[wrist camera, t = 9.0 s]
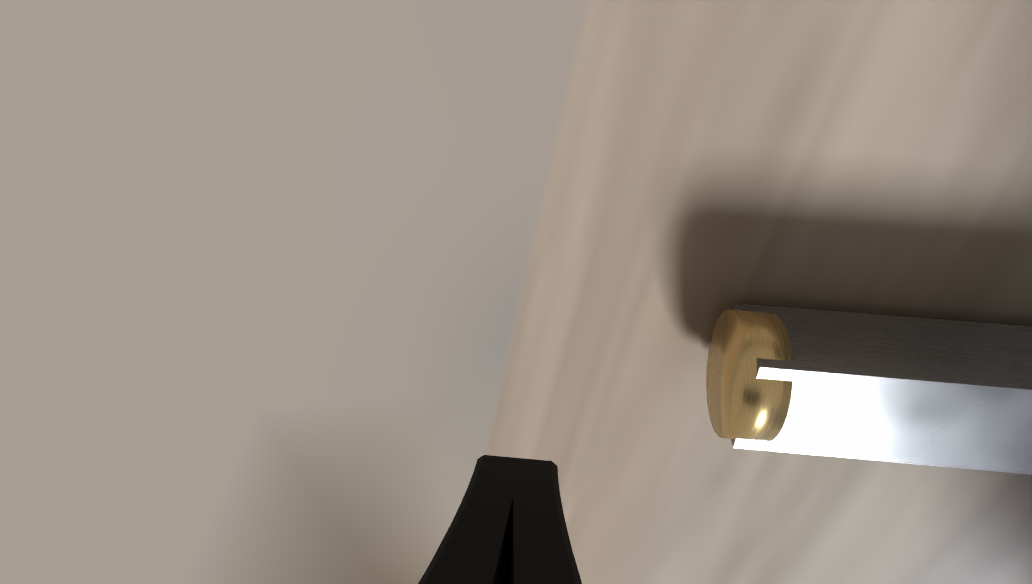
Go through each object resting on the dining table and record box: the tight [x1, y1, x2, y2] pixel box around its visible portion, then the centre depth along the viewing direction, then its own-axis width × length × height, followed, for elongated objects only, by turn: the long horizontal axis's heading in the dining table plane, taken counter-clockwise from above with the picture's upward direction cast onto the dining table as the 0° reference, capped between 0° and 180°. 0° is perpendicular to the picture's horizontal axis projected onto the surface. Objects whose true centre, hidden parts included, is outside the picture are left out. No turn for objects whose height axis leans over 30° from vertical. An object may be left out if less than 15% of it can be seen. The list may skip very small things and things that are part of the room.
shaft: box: [706, 303, 1032, 475], centre depth 14 cm, size 14×3×3 cm, turn 88°
